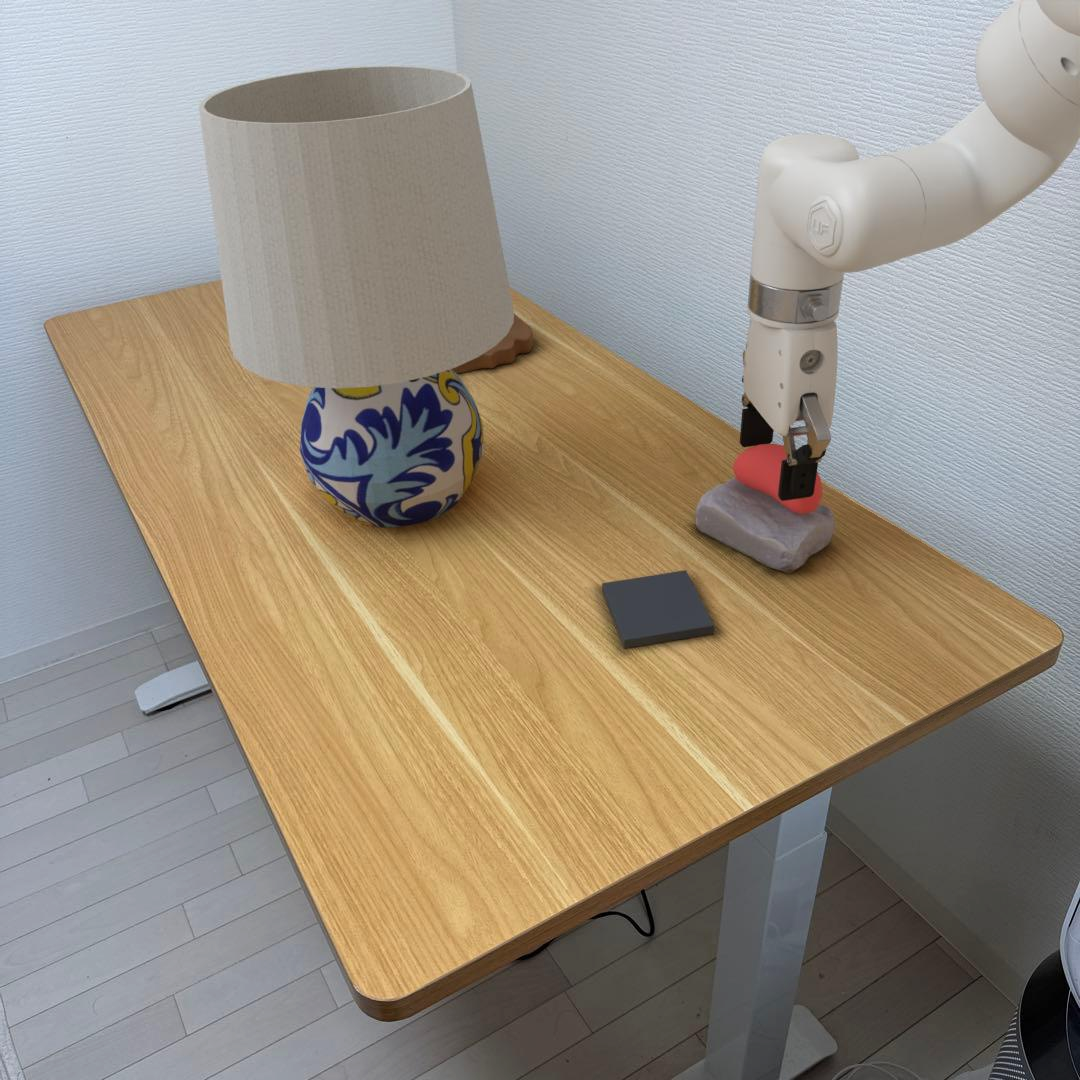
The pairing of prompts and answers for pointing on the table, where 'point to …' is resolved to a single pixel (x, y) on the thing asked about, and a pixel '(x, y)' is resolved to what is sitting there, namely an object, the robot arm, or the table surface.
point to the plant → (503, 348)
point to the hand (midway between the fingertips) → (774, 469)
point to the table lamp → (363, 272)
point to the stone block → (763, 525)
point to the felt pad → (656, 609)
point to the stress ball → (771, 475)
